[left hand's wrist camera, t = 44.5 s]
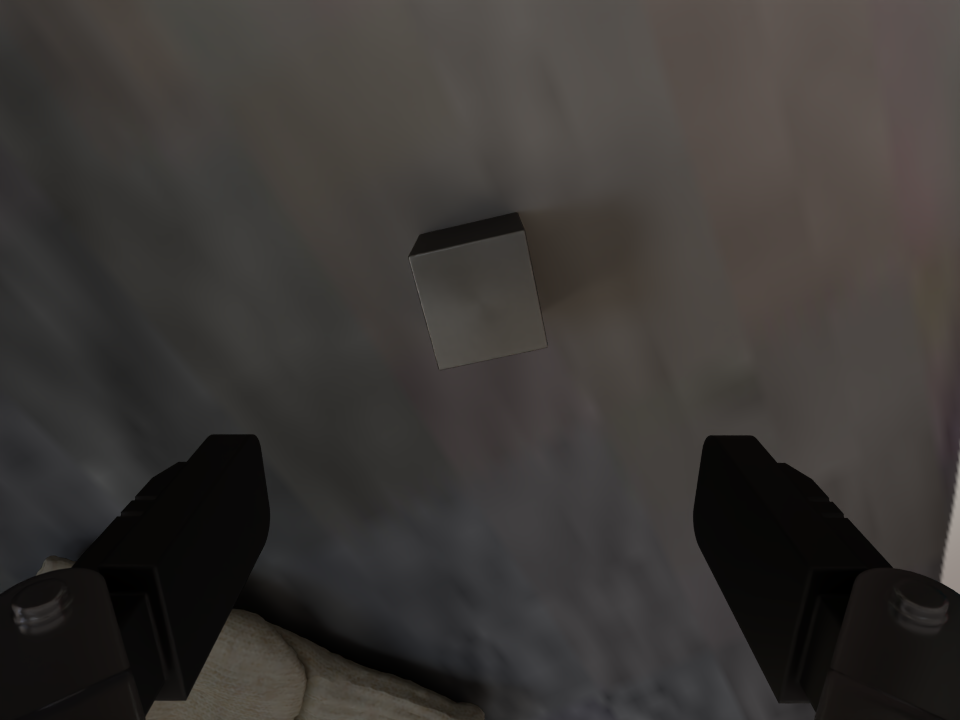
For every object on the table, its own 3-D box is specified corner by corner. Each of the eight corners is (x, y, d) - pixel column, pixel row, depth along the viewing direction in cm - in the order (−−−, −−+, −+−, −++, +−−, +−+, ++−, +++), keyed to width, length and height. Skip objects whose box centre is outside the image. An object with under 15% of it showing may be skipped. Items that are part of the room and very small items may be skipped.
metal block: (517, 211, 25) (524, 229, 21) (538, 313, 27) (548, 348, 23) (418, 234, 26) (407, 256, 22) (444, 334, 27) (438, 371, 23)
